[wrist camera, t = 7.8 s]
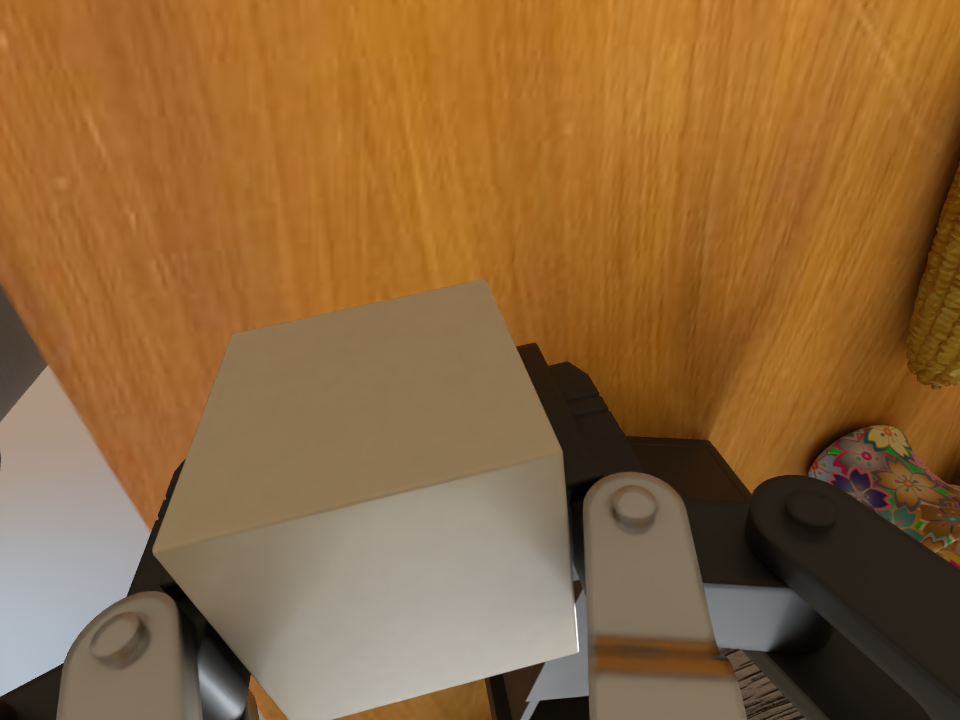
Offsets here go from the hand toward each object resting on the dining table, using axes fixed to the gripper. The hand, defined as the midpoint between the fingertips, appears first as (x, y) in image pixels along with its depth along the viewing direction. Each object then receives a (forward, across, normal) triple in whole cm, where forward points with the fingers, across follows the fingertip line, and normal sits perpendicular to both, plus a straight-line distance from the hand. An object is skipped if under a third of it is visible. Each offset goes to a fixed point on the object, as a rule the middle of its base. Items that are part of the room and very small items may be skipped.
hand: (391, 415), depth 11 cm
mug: (+17, -32, +29) cm, 46 cm away
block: (0, 0, 0) cm, 0 cm away
